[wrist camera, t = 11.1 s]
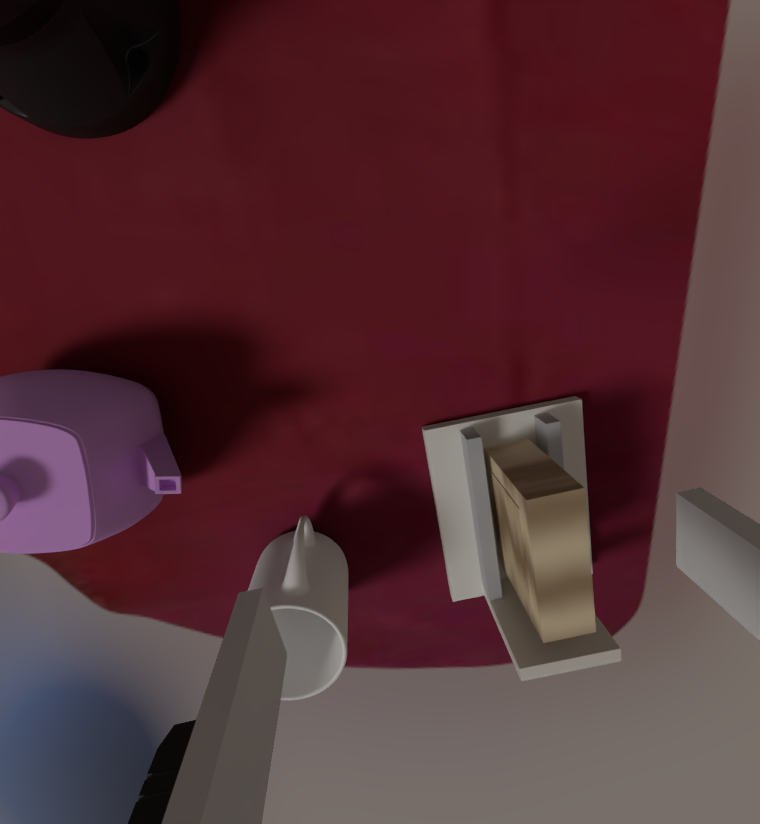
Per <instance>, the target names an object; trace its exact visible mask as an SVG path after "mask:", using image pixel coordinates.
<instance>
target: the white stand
mask: <svg viewBox="0 0 760 824" xmlns="http://www.w3.org/2000/svg"><path fill="white" fill-rule="evenodd" d="M422 431H423V437H424V443H425V449H426V454H427V460H428V466H429V472H430V478H431V484H432V489H433V495H434V501H435V507H436V513H437V518H438V524H439V530H440V536H441V542H442V547H443V553H444V559H445V565H446V571H447V576H448V582H449V588H450V594H451V597H452V600H453V602H454V601H459V600H464V599H469V598H474V597H479V596H485V598H486V600H487V603H488V605H489V607H490V610H491V612H492V614H493V617H494V619H495V621H496V624H497V626H498V628H499V631H500V633H501V635H502V638H503V640H504V642H505V645H506V647H507V649H508V652H509V654H510V657H511V659H512V661H513V664H514V666H515V668H516V671H517V673H518V675H519V677H520V680H521V681H525V680H530V679H535V678H540V677H545V676H550V675H555V674H560V673H565V672H569V671H575V670H579V669H584V668H589V667H594V666H599V665H604V664H609V663H614V662H619V661H621V648H620V647H619V646H618V644H617V643H616V642H615V640H614V639H613V638H612V636H611V635H610V633H609V632H608V631H607V629H606V628H605V627H604V625H603V624H602V623H601V621H600V620H599V619H598V617H597V616H596V615H595V623H596V632H594V633H589V634H585V635H580V636H575V637H570V638H566V639H561V640H556V641H552V642H547V643H543V641H542V639H541V638H540V636H539V634H538V632H537V630H536V628H535V626H534V624H533V623H532V621H531V619H530V617H529V615H528V613H527V611H526V610H525V608H524V606H523V604H522V602H521V600H520V598H519V596H518V595H517V593H516V591H515V589H514V587H513V585H512V583H511V581H510V580H509V578H508V576H507V574H506V572H505V570H504V568H503V567H502V565H501V563H500V557H499V550H498V543H497V536H496V529H495V523H494V516H493V509H492V502H491V495H490V489H489V482H488V475H487V468H486V461H485V454H484V448H485V447H490V446H495V445H499V444H504V443H509V442H514V441H518V440H523V439H529V440H530V441H531V442H532V443H534V444H535V445H536V446H537V447H538V448H539V449H541V450H542V451H543V452H544V453H545V454H546V455H547V456H549V457H550V458H551V459H552V460H553V461H554V462H556V463H557V464H558V465H559V466H560V467H561V468H562V469H564V470H565V471H566V472H567V473H568V474H569V475H571V476H572V477H573V478H574V479H575V480H576V481H577V482H579V483H580V484H581V485H582V486H583V487H584V488H585V497H586V509H587V522H588V535H589V547H590V560H591V573H592V574H593V570H592V554H591V538H590V522H589V506H588V490H587V475H586V459H585V443H584V427H583V411H582V399H580V398H578V397H576V396H573V397H568V398H563V399H558V400H553V401H548V402H543V403H538V404H533V405H528V406H523V407H518V408H513V409H508V410H503V411H498V412H493V413H488V414H483V415H478V416H473V417H468V418H463V419H458V420H453V421H448V422H443V423H438V424H433V425H428V426H423V427H422Z"/></svg>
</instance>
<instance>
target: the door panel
mask: <svg viewBox="0 0 760 824" xmlns="http://www.w3.org/2000/svg"><path fill="white" fill-rule="evenodd" d="M484 454H485V461H486V468H487V475H488V482H489V489H490V495H491V502H492V509H493V516H494V523H495V529H496V536H497V543H498V550H499V557H500V563H501V565H502V567H503V568H504V570H505V572H506V574H507V576H508V578H509V580H510V581H511V583H512V585H513V587H514V589H515V591H516V593H517V595H518V596H519V598H520V600H521V602H522V604H523V606H524V608H525V610H526V611H527V613H528V615H529V617H530V619H531V621H532V623H533V624H534V626H535V628H536V630H537V632H538V634H539V636H540V638H541V639H542V641H543V643H547V642H552V641H556V640H561V639H566V638H570V637H575V636H580V635H585V634H589V633H594V632H596V623H595V610H594V598H593V585H592V573H591V560H590V547H589V535H588V522H587V509H586V497H585V488H584V487H583V486H582V485H581V484H580V483H579V482H577V481H576V480H575V479H574V478H573V477H572V476H571V475H569V474H568V473H567V472H566V471H565V470H564V469H562V468H561V467H560V466H559V465H558V464H557V463H556V462H554V461H553V460H552V459H551V458H550V457H549V456H547V455H546V454H545V453H544V452H543V451H542V450H541V449H539V448H538V447H537V446H536V445H535V444H534V443H532V442H531V441H530V440H529V439H523V440H518V441H514V442H509V443H504V444H499V445H495V446H490V447H485V448H484Z"/></svg>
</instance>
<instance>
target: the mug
mask: <svg viewBox="0 0 760 824" xmlns="http://www.w3.org/2000/svg"><path fill="white" fill-rule="evenodd" d="M258 588H263V589H264V592H265V595H266V598H267V600H268V603H269V606H270V608H271V611H272V614H273V617H274V619H275V622H276V625H277V627H278V630H279V633H280V636H281V638H282V641H283V644H284V646H285V649H286V652H287V661H286V667H285V674H284V680H283V687H282V693H281V700H297V699H303V698H308V697H310V696H313V695H316V694H318V693H320V692H322V691H323V690H325V689H327V688H328V687H329V686H330V685H331V684H333V683H334V682H335V681H336V679H337V678H338V677H339V675H340V674H341V672H342V670H343V668H344V666H345V663H346V658H347V626H348V565H347V561H346V558H345V555H344V553H343V551H342V550H341V548H340V547H339V546H338V545H337V544H336V543H335V542H334V541H333V540H332V539H330V538H329V537H327V536H325V535H323V534H321V533H318V532H314V531H313V527H312V524H311V521H310V519H309V518H308V517H307V516H302V517H301V518H300V520H299V523H298V526H297V529H296V531H292V532H289V533H286V534H283V535H281V536H279V537H277V538H276V539H274V540H273V541H272V542H271V543H270V544H269V545H268V546H267V547H266V548H265V549H264V551H263V553H262V554H261V556H260V558H259V561H258V563H257V566H256V569H255V571H254V574H253V577H252V580H251V583H250V586H249V589H248V591H250V590H254V589H258Z"/></svg>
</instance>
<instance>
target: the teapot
mask: <svg viewBox="0 0 760 824" xmlns="http://www.w3.org/2000/svg"><path fill="white" fill-rule="evenodd" d="M181 493H182V481H181V473H180V470H179V468H178V465H177V463H176V460H175V458H174V456H173V453H172V451H171V448H170V446H169V443H168V441H167V438H166V436H165V435H164V432H163V425H162V419H161V413H160V409H159V404H158V401H157V399H156V396H155V395H154V394H153V392H152V391H151V390H149V389H148V388H147V387H145V386H143V385H141V384H139V383H137V382H134V381H130V380H127V379H124V378H120V377H115V376H111V375H106V374H101V373H96V372H89V371H81V370H53V369H51V370H36V371H28V372H21V373H16V374H10V375H7V376H3V377H0V553H17V554H18V553H19V554H27V553H48V552H59V551H67V550H73V549H78V548H82V547H85V546H88V545H90V544H93V543H96V542H98V541H101V540H103V539H105V538H108V537H110V536H112V535H115V534H117V533H119V532H121V531H123V530H125V529H127V528H129V527H131V526H132V525H134V524H135V523H137V522H138V521H140V520H141V519H142V518H144V517H145V516H146V515H148V514H149V513H150V512H151V511H152V510H154V508H155V507H156V506H157V505H158V504H159V503H160V501H161V500H162V497H163V494H181Z"/></svg>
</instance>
